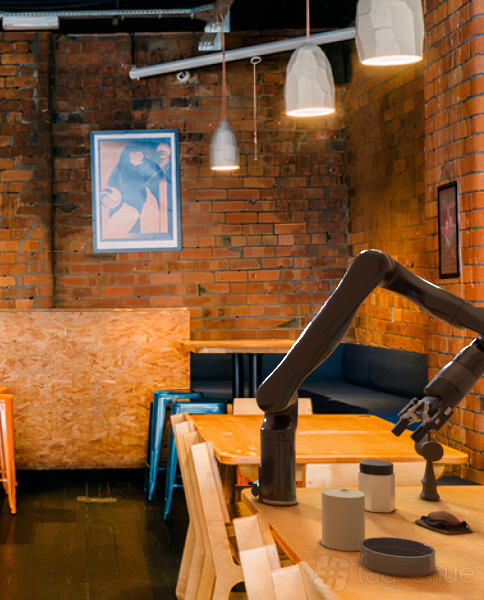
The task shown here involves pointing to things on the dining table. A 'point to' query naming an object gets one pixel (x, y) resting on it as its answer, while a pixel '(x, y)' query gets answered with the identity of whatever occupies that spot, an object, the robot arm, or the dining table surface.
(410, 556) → the pan
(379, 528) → the dining table surface
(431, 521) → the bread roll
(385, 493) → the jar
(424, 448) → the kendama
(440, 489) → the dining table surface
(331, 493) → the can
